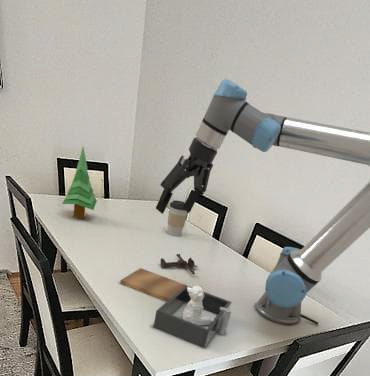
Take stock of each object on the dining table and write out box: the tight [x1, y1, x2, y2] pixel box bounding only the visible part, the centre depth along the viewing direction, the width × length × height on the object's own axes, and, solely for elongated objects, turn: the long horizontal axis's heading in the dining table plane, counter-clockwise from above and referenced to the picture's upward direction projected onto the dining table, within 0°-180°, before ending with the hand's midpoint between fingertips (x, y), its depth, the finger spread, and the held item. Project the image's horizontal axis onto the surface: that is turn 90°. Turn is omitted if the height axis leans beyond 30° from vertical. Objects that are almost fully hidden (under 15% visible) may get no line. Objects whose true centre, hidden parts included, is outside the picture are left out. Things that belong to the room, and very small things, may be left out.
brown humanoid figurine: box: [160, 253, 198, 276], centre depth 149 cm, size 18×4×14 cm
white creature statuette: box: [181, 285, 213, 327], centre depth 113 cm, size 10×9×12 cm
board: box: [120, 267, 186, 302], centre depth 131 cm, size 20×14×1 cm
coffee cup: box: [166, 199, 188, 237], centre depth 179 cm, size 9×9×15 cm
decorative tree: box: [62, 147, 98, 220], centre depth 167 cm, size 14×16×30 cm
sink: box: [153, 284, 232, 348], centre depth 114 cm, size 18×22×8 cm
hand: (173, 210), depth 118 cm, fingers open, 13 cm apart
